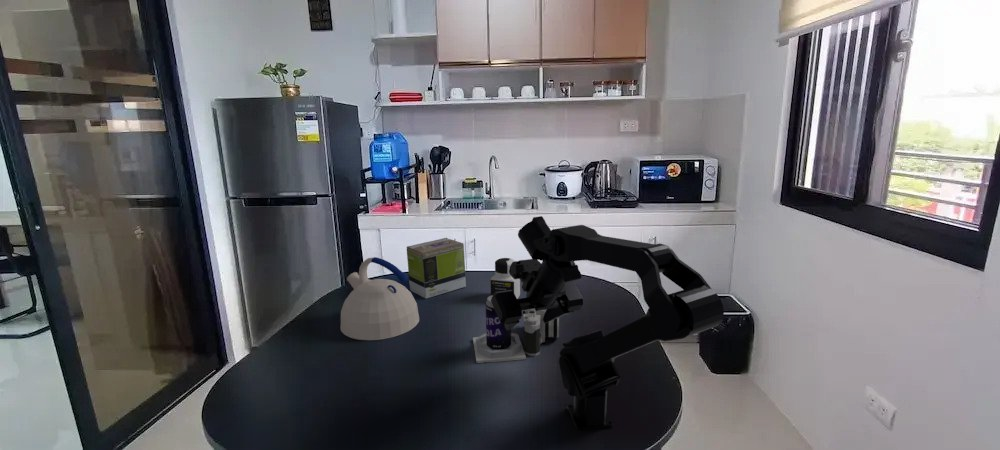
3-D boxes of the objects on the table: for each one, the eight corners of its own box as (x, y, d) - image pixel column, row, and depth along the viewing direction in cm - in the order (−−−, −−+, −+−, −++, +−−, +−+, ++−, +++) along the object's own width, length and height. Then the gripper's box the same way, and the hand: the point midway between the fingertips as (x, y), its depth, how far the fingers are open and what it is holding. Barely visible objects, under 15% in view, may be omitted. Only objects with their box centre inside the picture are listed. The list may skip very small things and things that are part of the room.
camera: (559, 358, 102) (560, 316, 100) (520, 356, 103) (520, 315, 101) (558, 326, 118) (558, 289, 115) (524, 325, 119) (524, 288, 116)
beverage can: (485, 341, 109) (484, 294, 106) (509, 340, 109) (509, 293, 106) (487, 353, 103) (486, 304, 100) (512, 352, 104) (511, 302, 101)
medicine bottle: (490, 301, 134) (489, 262, 131) (497, 292, 140) (497, 255, 138) (514, 304, 132) (513, 264, 129) (520, 295, 138) (520, 257, 136)
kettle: (379, 302, 135) (375, 243, 131) (435, 316, 125) (432, 252, 120) (322, 329, 118) (314, 262, 114) (381, 348, 108) (375, 275, 103)
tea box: (449, 279, 153) (447, 236, 149) (466, 287, 145) (465, 242, 142) (408, 290, 143) (405, 245, 140) (425, 300, 136) (422, 252, 133)
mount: (526, 359, 102) (526, 351, 101) (476, 363, 100) (476, 355, 100) (517, 336, 112) (517, 328, 112) (472, 339, 111) (472, 332, 111)
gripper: (572, 242, 96) (546, 288, 106) (491, 251, 88) (472, 300, 98) (598, 284, 89) (568, 329, 99) (513, 297, 81) (490, 345, 91)
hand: (525, 324), depth 97 cm, fingers open, 9 cm apart
